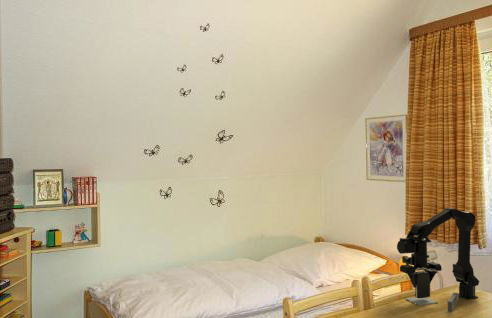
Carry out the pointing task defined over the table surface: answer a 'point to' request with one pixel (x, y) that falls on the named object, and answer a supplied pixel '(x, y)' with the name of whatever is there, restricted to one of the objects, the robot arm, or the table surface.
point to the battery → (422, 285)
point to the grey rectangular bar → (452, 301)
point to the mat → (421, 300)
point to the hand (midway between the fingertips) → (421, 286)
